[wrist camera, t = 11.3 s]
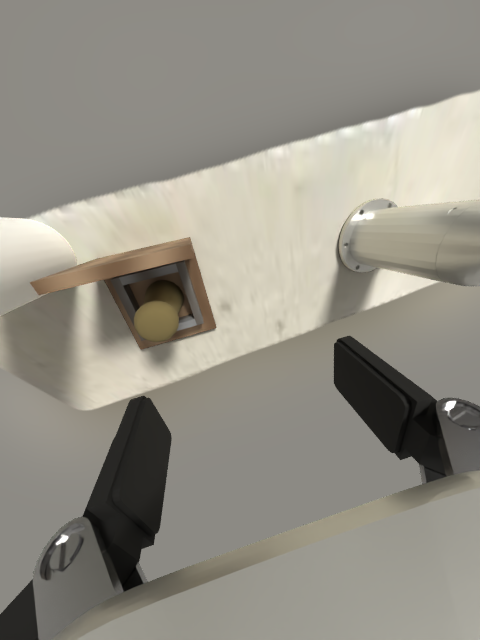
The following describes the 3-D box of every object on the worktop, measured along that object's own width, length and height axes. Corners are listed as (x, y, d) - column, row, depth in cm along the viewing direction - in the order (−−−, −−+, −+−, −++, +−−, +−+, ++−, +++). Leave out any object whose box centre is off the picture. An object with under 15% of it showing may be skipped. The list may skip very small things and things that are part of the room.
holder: (189, 237, 31) (190, 244, 19) (215, 325, 38) (228, 372, 26) (96, 258, 29) (29, 282, 17) (141, 346, 37) (118, 407, 24)
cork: (186, 313, 35) (184, 346, 25) (149, 316, 34) (133, 353, 24) (181, 278, 32) (178, 301, 23) (141, 281, 31) (119, 305, 21)
